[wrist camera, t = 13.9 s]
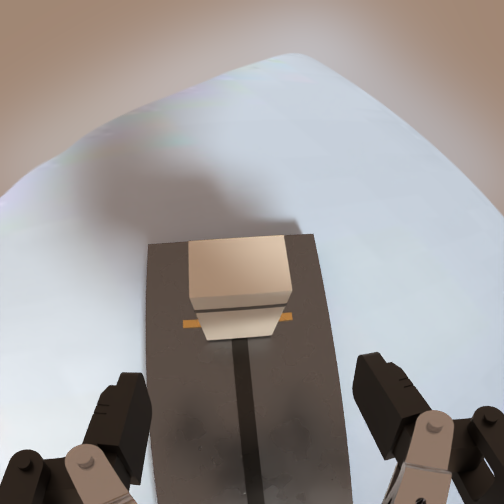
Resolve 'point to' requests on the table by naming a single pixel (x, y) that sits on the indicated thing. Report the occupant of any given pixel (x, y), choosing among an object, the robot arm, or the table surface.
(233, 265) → the fader cap
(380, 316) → the table surface
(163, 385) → the grey fader track base
